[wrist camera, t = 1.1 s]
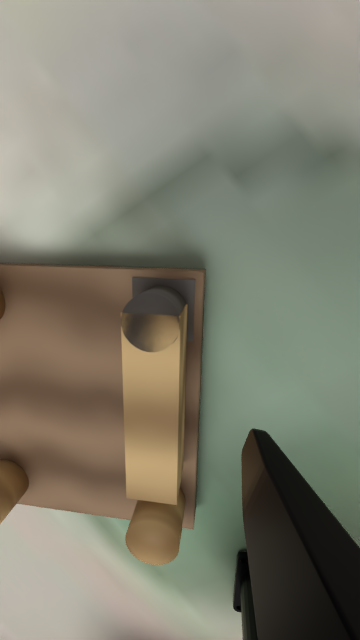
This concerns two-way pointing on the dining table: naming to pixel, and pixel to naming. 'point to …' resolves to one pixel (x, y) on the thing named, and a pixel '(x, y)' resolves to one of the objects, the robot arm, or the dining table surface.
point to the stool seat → (86, 396)
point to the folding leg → (154, 393)
